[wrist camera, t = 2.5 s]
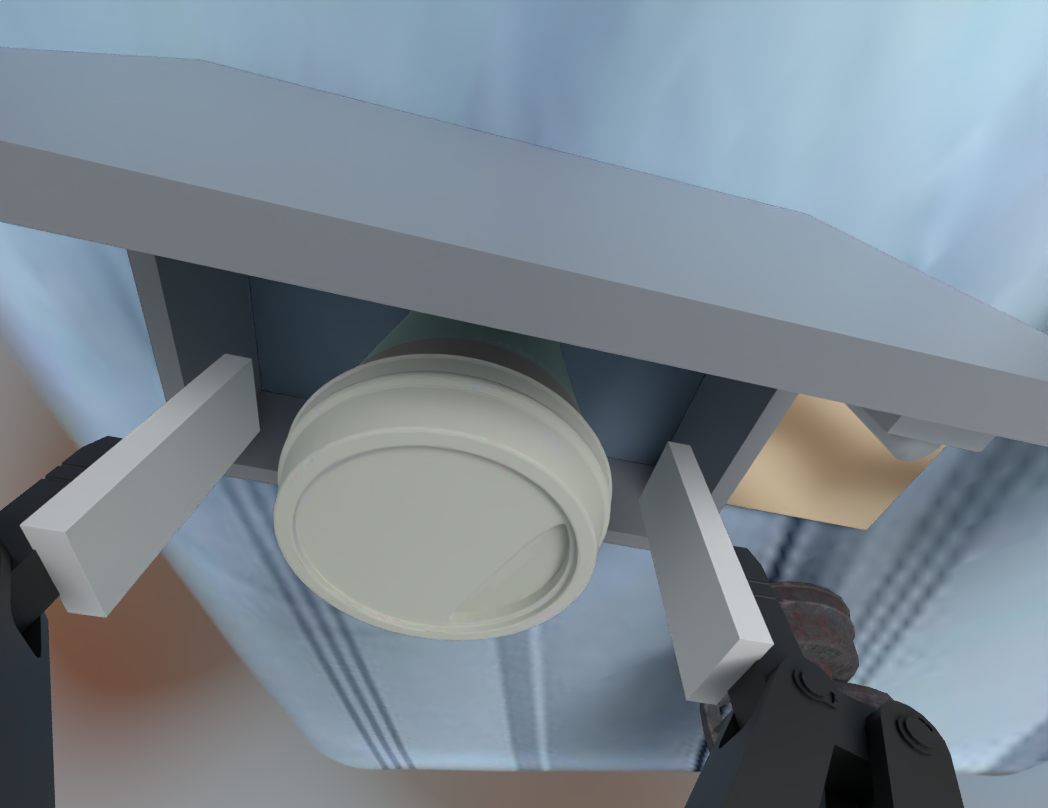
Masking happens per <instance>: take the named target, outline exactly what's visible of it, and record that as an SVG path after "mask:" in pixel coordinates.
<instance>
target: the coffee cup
mask: <svg viewBox="0 0 1048 808" xmlns="http://www.w3.org/2000/svg"><path fill="white" fill-rule="evenodd" d="M611 498H612V477H611V471H610V466H609V462H608V459H607V456H606V454H605V451H604V449H603V447H602V445H601V443H600V441H599V439H598V437H597V436H596V434H595V433H594V431H593V430H592V428H591V427H590V426H589V424H588V423H587V422H586V420H585V419H584V418H583V417H582V415H581V412H580V409H579V405H578V402H577V399H576V396H575V393H574V389H573V386H572V383H571V380H570V376H569V373H568V370H567V367H566V364H565V360H564V357H563V354H562V351H561V348H560V344H559V342H557V341H553V340H548V339H543V338H539V337H534V336H529V335H525V334H520V333H515V332H511V331H506V330H501V329H497V328H492V327H487V326H483V325H478V324H474V323H469V322H464V321H460V320H455V319H450V318H446V317H441V316H436V315H432V314H427V313H422V312H418V311H413V310H411V311H410V312H409V313H408V314H407V315H406V316H405V317H404V318H403V319H402V320H401V321H400V323H399V324H398V325H397V326H396V327H395V328H394V329H393V330H392V331H391V332H390V333H389V334H388V335H387V336H386V337H385V338H384V339H383V340H382V341H381V342H380V343H379V344H378V345H377V346H376V347H375V348H374V349H373V350H372V351H371V352H370V353H369V354H368V355H367V356H366V358H365V359H364V360H363V361H362V362H361V363H360V364H359V365H358V366H357V367H355V368H353V369H350V370H348V371H346V372H344V373H342V374H340V375H339V376H337V377H335V378H334V379H332V380H331V381H329V382H328V383H326V384H325V385H323V386H322V387H321V388H320V389H319V390H317V391H316V392H315V393H314V394H313V395H312V396H311V397H310V398H309V399H308V400H307V402H306V403H305V404H304V405H303V407H302V408H301V409H300V411H299V412H298V414H297V416H296V417H295V419H294V421H293V423H292V426H291V428H290V431H289V434H288V437H287V440H286V441H285V444H284V446H283V449H282V452H281V455H280V460H279V466H278V493H277V497H276V501H275V505H274V513H273V524H274V531H275V535H276V539H277V543H278V545H279V548H280V550H281V552H282V554H283V556H284V558H285V560H286V562H287V563H288V564H289V566H290V567H291V569H292V570H293V571H294V573H295V574H296V575H297V576H298V577H299V579H300V580H301V581H302V582H303V583H304V584H305V585H306V586H307V587H309V588H310V589H311V590H312V591H313V592H314V593H315V594H317V595H318V596H319V597H321V598H322V599H323V600H325V601H326V602H328V603H329V604H331V605H332V606H334V607H335V608H337V609H339V610H340V611H342V612H344V613H346V614H348V615H350V616H352V617H354V618H356V619H358V620H360V621H363V622H365V623H368V624H370V625H373V626H376V627H378V628H382V629H385V630H388V631H392V632H395V633H399V634H403V635H408V636H414V637H419V638H426V639H434V640H449V641H462V640H481V639H490V638H496V637H502V636H506V635H510V634H514V633H518V632H521V631H524V630H527V629H530V628H532V627H535V626H537V625H539V624H541V623H543V622H545V621H548V620H549V619H551V618H553V617H554V616H556V615H557V614H559V613H560V612H562V611H563V610H564V609H566V608H567V607H568V606H569V605H570V604H571V603H572V602H573V601H574V600H575V599H576V598H577V597H578V596H579V595H580V594H581V592H582V591H583V590H584V588H585V587H586V585H587V583H588V581H589V580H590V578H591V576H592V573H593V570H594V566H595V563H596V559H597V554H598V550H599V548H600V546H601V544H602V542H603V540H604V537H605V535H606V532H607V528H608V525H609V519H610V511H611Z"/></svg>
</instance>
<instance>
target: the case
mask: <svg viewBox="0 0 1048 808" xmlns="http://www.w3.org/2000/svg"><path fill="white" fill-rule="evenodd" d="M0 222H4V223H9V224H13V225H18V226H22V227H27V228H32V229H36V230H41V231H46V232H50V233H55V234H60V235H64V236H69V237H74V238H78V239H83V240H88V241H92V242H97V243H102V244H106V245H111V246H115V247H120V248H125V249H127V253H128V257H129V260H130V264H131V268H132V272H133V276H134V280H135V284H136V287H137V291H138V295H139V299H140V303H141V307H142V311H143V314H144V318H145V322H146V326H147V330H148V334H149V338H150V341H151V345H152V349H153V353H154V357H155V361H156V365H157V368H158V372H159V376H160V380H161V384H162V388H163V392H164V395H165V399H166V402H168V401H169V400H170V399H171V398H172V397H174V396H175V395H176V394H177V393H178V392H180V391H181V390H182V389H183V388H184V387H186V386H187V385H188V384H189V383H190V382H191V381H193V380H194V379H195V378H196V377H197V376H199V375H200V374H201V373H202V372H203V371H205V370H206V369H207V368H208V367H209V366H211V365H212V364H213V363H214V362H215V361H217V360H218V359H219V358H220V357H221V356H223V355H224V354H230V355H235V356H240V357H245V358H251V359H252V366H253V374H254V383H255V392H256V400H257V409H258V417H259V426H260V431H259V433H258V434H257V435H256V436H255V437H254V439H253V440H252V441H251V442H250V443H249V445H248V446H247V447H246V448H245V450H244V451H243V452H242V453H241V454H240V456H239V457H238V458H237V459H236V460H235V462H234V463H233V464H232V465H231V467H230V468H229V469H228V470H227V471H226V473H225V474H224V475H223V476H228V477H234V478H240V479H245V480H251V481H257V482H263V483H268V484H274V485H278V466H279V460H280V455H281V452H282V449H283V446H284V444H285V441H286V440H287V437H288V434H289V431H290V428H291V426H292V423H293V421H294V419H295V417H296V416H297V414H298V412H299V411H300V409H301V408H302V407H303V405H304V404H305V403H306V402H307V400H308V399H304V398H298V397H293V396H288V395H283V394H278V393H272V392H267V391H262V388H261V379H260V371H259V362H258V353H257V345H256V336H255V328H254V319H253V310H252V302H251V293H250V285H249V276H248V275H250V276H255V277H260V278H264V279H269V280H274V281H278V282H283V283H288V284H292V285H297V286H301V287H306V288H311V289H315V290H320V291H325V292H329V293H334V294H339V295H343V296H348V297H353V298H357V299H362V300H367V301H371V302H376V303H381V304H385V305H390V306H394V307H399V308H404V309H408V310H413V311H418V312H422V313H427V314H432V315H436V316H441V317H446V318H450V319H455V320H460V321H464V322H469V323H474V324H478V325H483V326H487V327H492V328H497V329H501V330H506V331H511V332H515V333H520V334H525V335H529V336H534V337H539V338H543V339H548V340H553V341H557V342H562V343H566V344H571V345H576V346H580V347H585V348H590V349H594V350H599V351H604V352H608V353H613V354H618V355H622V356H627V357H632V358H636V359H641V360H646V361H650V362H655V363H659V364H664V365H669V366H673V367H678V368H683V369H687V370H692V371H697V372H701V373H706V374H705V376H704V378H703V380H702V382H701V384H700V386H699V388H698V390H697V392H696V394H695V396H694V398H693V400H692V401H691V403H690V405H689V407H688V409H687V411H686V413H685V415H684V417H683V419H682V421H681V423H680V425H679V427H678V429H677V431H676V433H675V435H674V437H673V438H672V440H671V442H675V443H680V444H685V445H690V446H691V449H692V451H693V453H694V456H695V458H696V460H697V463H698V465H699V467H700V470H701V472H702V475H703V477H704V479H705V482H706V484H707V486H708V489H709V491H710V494H711V496H712V498H713V501H714V503H715V505H716V508H717V510H718V513H720V512H721V510H722V509H723V507H724V506H725V504H726V503H727V501H728V500H729V498H730V497H731V495H732V494H733V492H734V491H735V489H736V488H737V486H738V485H739V483H740V482H741V480H742V479H743V477H744V476H745V474H746V473H747V471H748V470H749V468H750V467H751V465H752V464H753V462H754V461H755V459H756V457H757V456H758V454H759V453H760V451H761V450H762V448H763V447H764V445H765V444H766V442H767V441H768V439H769V438H770V436H771V435H772V433H773V432H774V430H775V429H776V427H777V426H778V424H779V423H780V421H781V420H782V418H783V417H784V415H785V414H786V412H787V411H788V409H789V408H790V406H791V405H792V403H793V402H794V400H795V399H796V397H797V396H798V394H804V395H808V396H813V397H818V398H822V399H827V400H832V401H836V402H841V403H845V404H846V405H847V406H848V407H849V409H850V410H851V411H852V412H853V413H854V414H855V415H856V416H857V417H858V418H859V419H860V420H861V421H862V422H863V424H864V425H865V426H866V427H867V428H868V429H869V430H870V431H871V432H872V433H873V434H874V435H875V436H876V437H877V438H878V440H879V441H880V442H881V443H882V444H883V445H884V446H885V447H886V448H887V449H888V450H889V451H890V452H891V453H892V454H893V456H894V457H896V458H897V459H899V460H903V461H913V460H918V459H921V458H924V457H926V456H928V455H930V454H932V453H933V452H935V451H936V450H937V449H938V448H939V447H940V446H941V445H946V446H951V447H956V448H961V449H965V450H970V451H975V452H981V451H982V450H983V449H984V448H985V447H986V446H987V445H988V444H989V443H990V442H991V441H992V440H993V439H994V438H995V437H996V436H999V437H1004V438H1008V439H1013V440H1018V441H1022V442H1027V443H1031V444H1036V445H1041V446H1045V447H1048V335H1047V334H1045V333H1043V332H1041V331H1039V330H1037V329H1035V328H1033V327H1031V326H1029V325H1027V324H1025V323H1023V322H1021V321H1019V320H1017V319H1015V318H1013V317H1011V316H1009V315H1007V314H1005V313H1003V312H1001V311H999V310H997V309H995V308H993V307H992V306H990V305H988V304H986V303H984V302H982V301H980V300H978V299H976V298H974V297H972V296H970V295H968V294H966V293H964V292H962V291H960V290H958V289H956V288H954V287H952V286H950V285H948V284H946V283H944V282H942V281H940V280H938V279H936V278H934V277H932V276H930V275H928V274H926V273H924V272H922V271H920V270H918V269H916V268H914V267H912V266H910V265H908V264H906V263H904V262H902V261H900V260H898V259H896V258H894V257H892V256H890V255H888V254H886V253H884V252H882V251H880V250H878V249H876V248H874V247H872V246H870V245H868V244H866V243H864V242H862V241H860V240H858V239H856V238H854V237H852V236H850V235H848V234H846V233H844V232H842V231H840V230H838V229H836V228H834V227H832V226H830V225H828V224H826V223H824V222H822V221H820V220H818V219H816V218H814V217H812V216H810V215H807V214H804V213H800V212H796V211H792V210H788V209H784V208H780V207H776V206H772V205H768V204H764V203H760V202H756V201H752V200H748V199H745V198H741V197H737V196H733V195H729V194H725V193H721V192H717V191H713V190H709V189H705V188H701V187H697V186H693V185H690V184H686V183H682V182H678V181H674V180H670V179H666V178H662V177H658V176H654V175H650V174H646V173H642V172H638V171H635V170H631V169H627V168H623V167H619V166H615V165H611V164H607V163H603V162H599V161H595V160H591V159H587V158H583V157H580V156H576V155H572V154H568V153H564V152H560V151H556V150H552V149H548V148H544V147H540V146H536V145H532V144H528V143H525V142H521V141H517V140H513V139H509V138H505V137H501V136H497V135H493V134H489V133H485V132H481V131H477V130H473V129H470V128H466V127H462V126H458V125H454V124H450V123H446V122H442V121H438V120H434V119H430V118H426V117H422V116H418V115H414V114H411V113H407V112H403V111H399V110H395V109H391V108H387V107H383V106H379V105H375V104H371V103H367V102H363V101H359V100H356V99H352V98H348V97H344V96H340V95H336V94H332V93H328V92H324V91H320V90H316V89H312V88H308V87H304V86H301V85H297V84H293V83H289V82H285V81H281V80H277V79H273V78H269V77H265V76H261V75H257V74H253V73H249V72H246V71H242V70H238V69H234V68H230V67H226V66H222V65H218V64H214V63H210V62H206V61H202V60H196V59H180V58H164V57H149V56H133V55H117V54H101V53H85V52H69V51H53V50H37V49H21V48H5V47H0ZM607 459H608V462H609V466H610V471H611V477H612V498H611V511H610V519H609V525H608V528H607V532H606V535H605V537H604V540H603V542H605V543H611V544H616V545H622V546H628V547H634V548H639V549H645V550H650V546H649V542H648V538H647V534H646V529H645V525H644V521H643V517H642V513H641V509H640V504H639V498H640V496H641V494H642V492H643V490H644V488H645V486H646V484H647V482H648V480H649V478H650V476H651V474H652V472H653V470H654V468H655V466H650V465H645V464H640V463H635V462H630V461H625V460H619V459H614V458H609V457H607Z"/></svg>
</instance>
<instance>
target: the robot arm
mask: <svg viewBox="0 0 1048 808" xmlns="http://www.w3.org/2000/svg"><path fill="white" fill-rule="evenodd" d="M259 431H260V426H259V417H258V409H257V400H256V392H255V383H254V374H253V366H252V359H251V358H245V357H240V356H235V355H230V354H224V355H223V356H221V357H220V358H219V359H218V360H217V361H215V362H214V363H213V364H212V365H211V366H209V367H208V368H207V369H206V370H205V371H203V372H202V373H201V374H200V375H199V376H197V377H196V378H195V379H194V380H193V381H191V382H190V383H189V384H188V385H187V386H186V387H184V388H183V389H182V390H181V391H180V392H178V393H177V394H176V395H175V396H174V397H172V398H171V399H170V400H169V401H168V402H166V403H165V404H164V405H163V406H162V407H160V408H159V409H158V410H157V411H156V412H154V413H153V414H152V415H151V416H150V417H148V418H147V419H146V420H145V421H144V422H142V423H141V424H140V425H139V426H138V427H136V428H135V429H134V430H133V431H132V432H130V433H129V434H128V435H127V436H126V437H124V438H117V437H111V436H106V437H104V438H102V439H100V440H97V441H95V442H93V443H91V444H88V445H86V446H84V447H82V448H80V449H79V450H78V451H77V452H75V453H74V454H73V455H72V456H70V457H69V458H68V459H66V460H65V461H64V462H63V463H62V465H61V466H57V467H56V468H55V469H54V470H52V471H51V472H50V473H48V474H47V475H46V477H45V479H41V480H39V481H38V482H37V483H36V484H34V485H33V486H32V487H30V488H29V489H28V490H27V491H25V492H24V493H23V494H21V495H20V496H19V497H18V498H16V499H15V500H14V501H12V502H11V503H10V504H9V505H7V506H6V507H5V508H3V509H2V510H1V511H0V808H55V790H54V766H53V765H54V764H53V739H52V712H51V685H50V660H49V659H50V658H49V631H48V619H47V617H46V614H45V612H44V611H45V610H46V609H47V608H48V607H49V606H50V605H51V604H52V603H53V602H54V600H55V599H56V598H57V597H58V596H59V597H60V599H61V601H62V603H63V605H64V606H65V608H66V610H67V612H70V613H77V614H84V615H91V616H98V617H105V618H106V617H107V616H108V615H109V613H110V612H111V611H112V610H113V609H114V607H115V606H116V605H117V604H118V603H119V601H120V600H121V599H122V598H123V596H124V595H125V594H126V593H127V592H128V590H129V589H130V588H131V587H132V585H133V584H134V583H135V582H136V581H137V579H138V578H139V577H140V576H141V575H142V573H143V572H144V571H145V570H146V569H147V567H148V566H149V565H150V563H151V562H152V561H153V560H154V559H155V558H156V556H157V555H158V554H159V553H160V552H161V550H162V549H163V548H164V547H165V545H166V544H167V543H168V542H169V541H170V539H171V538H172V537H173V536H174V535H175V533H176V532H177V531H178V530H179V528H180V527H181V526H182V525H183V524H184V522H185V521H186V520H187V519H188V518H189V516H190V515H191V514H192V513H193V511H194V510H195V509H196V508H197V507H198V505H199V504H200V503H201V502H202V501H203V499H204V498H205V497H206V496H207V494H208V493H209V492H210V491H211V490H212V488H213V487H214V486H215V485H216V484H217V482H218V481H219V480H220V479H221V477H222V476H223V475H224V474H225V473H226V471H227V470H228V469H229V468H230V467H231V465H232V464H233V463H234V462H235V460H236V459H237V458H238V457H239V456H240V454H241V453H242V452H243V451H244V450H245V448H246V447H247V446H248V445H249V443H250V442H251V441H252V440H253V439H254V437H255V436H256V435H257V434H258V433H259ZM639 504H640V509H641V513H642V517H643V521H644V525H645V529H646V534H647V538H648V542H649V546H650V550H651V555H652V559H653V563H654V567H655V571H656V575H657V580H658V584H659V588H660V592H661V596H662V600H663V605H664V609H665V613H666V617H667V621H668V626H669V630H670V634H671V638H672V642H673V646H674V651H675V655H676V659H677V663H678V667H679V672H680V676H681V680H682V684H683V688H684V692H685V697H686V701H693V702H700V703H707V704H714V705H717V704H718V703H719V702H720V701H721V699H722V698H723V697H724V696H725V695H726V694H727V693H728V695H729V698H730V701H731V704H732V707H733V710H732V711H731V712H730V713H729V714H728V715H727V716H726V717H725V718H724V719H723V720H722V721H721V722H720V723H719V724H718V725H717V726H716V727H715V728H714V729H713V730H714V731H715V732H716V733H717V734H718V733H719V735H718V737H717V739H716V741H715V743H714V745H713V748H712V750H711V752H710V754H709V756H708V758H707V760H706V763H705V765H704V767H703V769H702V771H701V773H700V775H699V778H698V780H697V782H696V784H695V786H694V788H693V791H692V793H691V795H690V797H689V799H688V801H687V803H686V806H685V808H964V806H963V802H962V798H961V794H960V790H959V787H958V782H957V779H956V774H955V770H954V766H953V762H952V758H951V755H950V752H949V750H948V748H947V745H946V743H945V741H944V740H943V738H942V737H941V735H940V734H939V733H938V731H937V730H936V728H935V727H934V726H933V725H932V724H931V723H930V722H929V721H928V720H927V719H926V718H925V717H924V716H923V715H922V714H920V713H919V712H917V711H916V710H914V709H913V708H911V707H910V706H908V705H906V704H903V703H901V702H898V701H887V702H886V703H884V704H883V705H881V706H880V707H879V708H877V709H875V708H873V707H871V706H869V705H866V704H864V703H862V702H860V701H858V700H856V699H854V698H852V697H850V696H847V695H845V694H843V693H841V692H840V691H838V688H837V686H836V685H835V684H834V682H833V681H832V679H831V678H830V677H829V675H828V674H827V673H825V672H824V671H823V670H822V669H821V668H820V667H819V666H818V665H816V664H815V663H813V662H811V661H810V660H808V659H806V658H805V657H804V655H803V654H802V651H801V649H800V647H799V645H798V643H797V641H796V639H795V636H794V634H793V632H792V630H791V628H790V626H789V624H788V621H787V619H786V617H785V615H784V613H783V611H782V608H781V606H780V604H779V602H778V601H776V596H775V593H774V591H773V589H772V587H771V586H769V581H768V578H767V576H766V574H765V572H764V570H763V568H762V565H761V564H760V563H759V562H758V561H757V559H756V558H755V557H754V556H753V555H752V554H751V552H750V551H749V550H748V549H747V548H742V547H736V546H732V543H731V541H730V539H729V536H728V534H727V532H726V529H725V527H724V524H723V522H722V520H721V517H720V515H719V513H718V510H717V508H716V505H715V503H714V501H713V498H712V496H711V494H710V491H709V489H708V486H707V484H706V482H705V479H704V477H703V475H702V472H701V470H700V467H699V465H698V463H697V460H696V458H695V456H694V453H693V451H692V449H691V446H690V445H685V444H680V443H675V442H670V441H668V442H667V444H666V446H665V448H664V450H663V452H662V454H661V456H660V458H659V460H658V462H657V464H656V466H655V468H654V470H653V472H652V474H651V476H650V478H649V480H648V482H647V484H646V486H645V488H644V490H643V492H642V494H641V496H640V498H639Z"/></svg>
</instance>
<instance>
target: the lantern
mask: <svg viewBox="0 0 1048 808" xmlns="http://www.w3.org/2000/svg"><path fill="white" fill-rule="evenodd" d="M769 586H771V587H772V589H773V591H774V593H775V596H776V601H778V602H779V604H780V606H781V608H782V611H783V613H784V615H785V617H786V619H787V621H788V624H789V626H790V628H791V630H792V632H793V634H794V636H795V639H796V641H797V643H798V645H799V647H800V649H801V651H802V654H803V655H804V657H805V658H806V659H808V660H810V661H811V662H813V663H815V664H816V665H818V666H819V667H820V668H821V669H822V670H823V671H824V672H825V673H827V674H828V675H829V677H830V678H831V679H832V681H833V682H834V684H835V685H836V686H837V688H838V691H840V692H841V693H843V694H845V695H847V696H850V697H852V698H854V699H856V700H858V701H860V702H862V703H864V704H866V705H869V706H871V707H873V708H875V709H877V708H879V707H880V706H881V705H883V704H884V703H886V702H887V701H894V700H893V699H892V698H891V697H890V696H889V695H888V694H887V693H884V692H881V691H878V690H876V689H873V688H870V687H866V686H862V685H857V684H852V683H847V682H848V681H849V680H850V679H851V678H852V677H853V676H854V674H855V672H856V670H857V668H858V666H859V661H858V655H857V652H856V649H855V646H854V643H853V640H854V637H855V633H854V625H853V623H852V622H851V620H850V611H849V609H848V607H847V606H846V604H845V603H844V602H843V600H842V599H841V597H839V596H838V595H836V594H834V593H833V592H831V591H830V590H828V589H825V588H822V587H819V586H815V585H812V584H806V583H796V582H776V583H769ZM729 702H731V701H730V698H729V695H728V693H727V694H726V695H725V696H724V697H723V698H722V699H721V701H720V702H719V703H718V704H717V705H714V704H707V703H700V713H701V719H702V726H703V732H704V735H705V738H706V742H707V745H708V749H709V752H711V750H712V748H713V745H714V743H715V741H716V739H717V737H718V735H719V733H718V734H717V733H716V732H715V731H714V730H713V729H714V728H715V727H716V726H717V725H718V724H719V723H720V722H721V721H722V718H721V714H720V710H719V707H721V706H723V705H725V704H727V703H729Z"/></svg>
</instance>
